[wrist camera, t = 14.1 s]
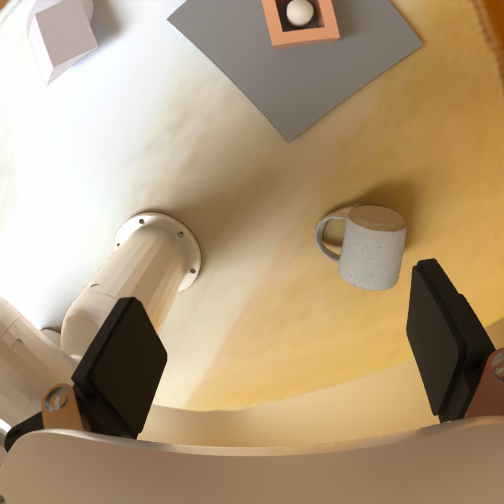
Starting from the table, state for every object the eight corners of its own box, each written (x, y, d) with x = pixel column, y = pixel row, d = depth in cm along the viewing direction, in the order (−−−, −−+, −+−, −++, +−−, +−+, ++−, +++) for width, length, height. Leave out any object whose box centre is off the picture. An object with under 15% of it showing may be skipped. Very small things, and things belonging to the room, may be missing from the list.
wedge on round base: (112, 47, 30) (84, -24, 24) (82, 45, 24) (54, -34, 18) (61, 84, 32) (36, 15, 27) (28, 89, 26) (4, 13, 21)
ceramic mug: (398, 203, 37) (419, 229, 30) (389, 259, 41) (404, 294, 34) (315, 199, 38) (321, 226, 31) (312, 258, 42) (315, 293, 35)
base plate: (288, 141, 35) (289, 151, 30) (169, 21, 28) (151, 12, 23) (419, 45, 27) (441, 41, 22) (302, -76, 20) (304, -98, 16)
